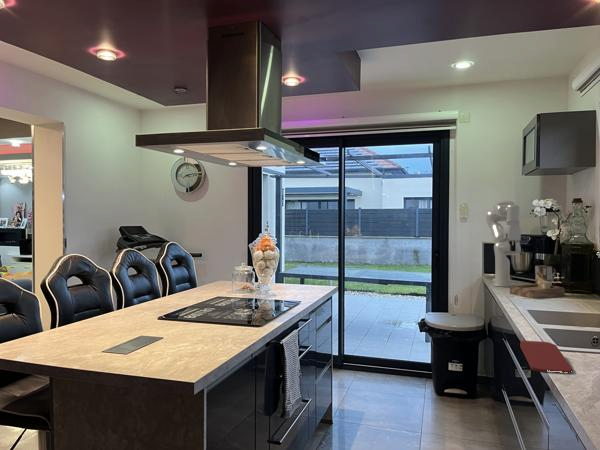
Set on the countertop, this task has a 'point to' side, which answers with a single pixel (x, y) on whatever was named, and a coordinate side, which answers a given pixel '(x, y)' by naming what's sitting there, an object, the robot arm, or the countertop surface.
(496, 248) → the robot arm
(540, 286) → the maple block
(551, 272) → the coffee box
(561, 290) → the wooden cutting board
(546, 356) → the dark red flat piece
